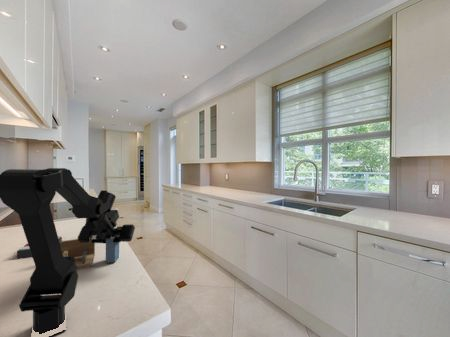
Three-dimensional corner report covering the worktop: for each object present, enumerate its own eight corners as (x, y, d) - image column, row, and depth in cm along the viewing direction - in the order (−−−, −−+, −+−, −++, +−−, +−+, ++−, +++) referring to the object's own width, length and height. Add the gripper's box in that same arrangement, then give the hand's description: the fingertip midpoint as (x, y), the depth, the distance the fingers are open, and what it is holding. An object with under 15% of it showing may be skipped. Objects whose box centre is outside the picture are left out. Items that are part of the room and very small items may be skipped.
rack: (92, 266, 76) (92, 245, 76) (44, 275, 69) (44, 253, 69) (94, 254, 85) (94, 236, 85) (52, 261, 78) (52, 242, 78)
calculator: (62, 235, 99) (51, 244, 85) (62, 243, 98) (50, 254, 85) (33, 238, 94) (16, 249, 80) (33, 247, 94) (16, 259, 80)
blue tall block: (114, 261, 78) (115, 232, 78) (105, 262, 78) (105, 232, 78) (119, 257, 82) (119, 228, 82) (110, 257, 82) (110, 229, 82)
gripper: (133, 204, 77) (142, 224, 88) (82, 204, 75) (97, 224, 86) (125, 231, 69) (135, 249, 80) (68, 232, 67) (87, 250, 78)
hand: (114, 242), depth 81 cm, fingers closed on blue tall block, 3 cm apart
